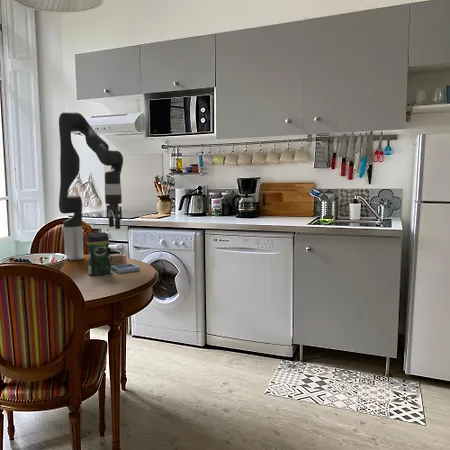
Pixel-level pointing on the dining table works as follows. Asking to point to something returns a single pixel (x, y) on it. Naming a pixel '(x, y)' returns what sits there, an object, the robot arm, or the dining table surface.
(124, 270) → the blue grey tray
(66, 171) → the robot arm
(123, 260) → the terracotta cube
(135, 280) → the dining table surface
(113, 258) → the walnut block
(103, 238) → the coffee jar
